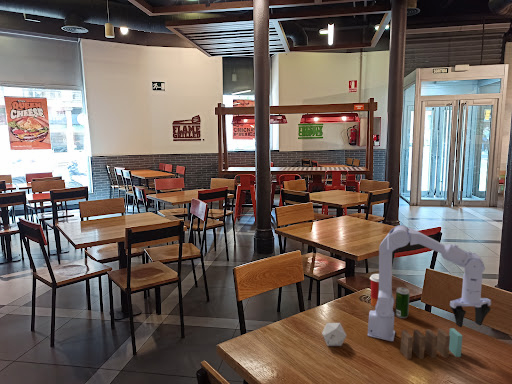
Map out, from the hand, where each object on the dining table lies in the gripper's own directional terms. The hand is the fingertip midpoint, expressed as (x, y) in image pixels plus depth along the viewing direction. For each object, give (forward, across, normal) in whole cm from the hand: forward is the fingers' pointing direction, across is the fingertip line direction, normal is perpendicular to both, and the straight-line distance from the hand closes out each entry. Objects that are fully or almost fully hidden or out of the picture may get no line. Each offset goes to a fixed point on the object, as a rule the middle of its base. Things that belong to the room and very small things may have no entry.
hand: (468, 324), depth 129 cm
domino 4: (+10, -9, +1) cm, 14 cm away
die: (+11, -46, +12) cm, 48 cm away
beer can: (+11, -8, +29) cm, 32 cm away
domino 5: (+10, -4, 0) cm, 11 cm away
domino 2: (+10, -18, +2) cm, 21 cm away
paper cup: (+11, -14, +40) cm, 44 cm away
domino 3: (+10, -14, +1) cm, 17 cm away
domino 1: (+10, -22, +2) cm, 25 cm away
